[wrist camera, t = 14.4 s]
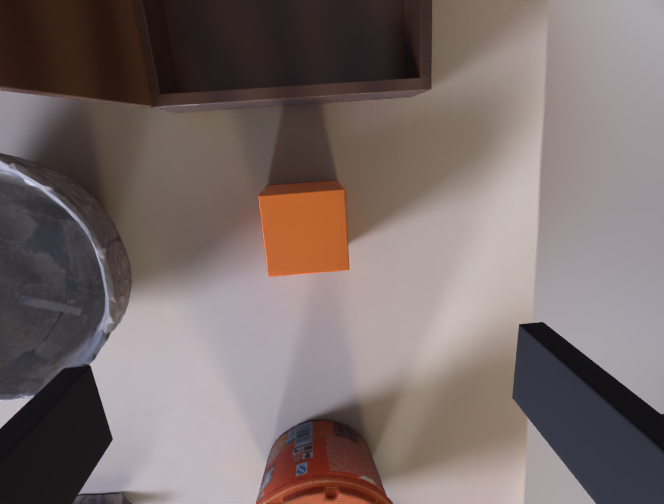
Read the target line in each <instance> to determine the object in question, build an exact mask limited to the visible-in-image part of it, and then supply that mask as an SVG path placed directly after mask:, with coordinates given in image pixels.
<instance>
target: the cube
mask: <svg viewBox="0 0 664 504" xmlns="http://www.w3.org/2000/svg"><path fill="white" fill-rule="evenodd" d="M258 199H259V207H260V215H261V223H262V231H263V239H264V247H265V255H266V263H267V271H268V277H275V276H286V275H298V274H309V273H320V272H332V271H343V270H349V254H348V236H347V219H346V201H345V189H344V188H343V187H342V186H341V184H340V183H339V182H338V181H337V180H332V181H319V182H306V183H292V184H279V185H267V186H266V187H265V188H264V189H263V191H262V192H261V193H260V194H259V196H258Z"/></svg>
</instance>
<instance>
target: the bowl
mask: <svg viewBox="0 0 664 504" xmlns="http://www.w3.org/2000/svg"><path fill="white" fill-rule="evenodd" d="M131 283H132V281H131V270H130V263H129V259H128V256H127V253H126V250H125V246H124V244H123V242H122V240H121V238H120V236H119V233H118V231H117V229H116V226H115V224H114V222H113V221H112V220H111V219H110V217H109V216H108V215H107V213H106V212H105V211H104V209H103V208H102V207H101V205H100V204H99V203H98V201H97V200H96V199H95V198H94V197H93V196H92V195H91V194H90V193H88V192H87V191H86V190H85V189H83V188H82V187H80V186H79V185H78V183H77V182H76V181H75V180H73V179H72V178H69V177H66V176H64V175H63V174H62V173H59V172H57V171H54V170H51V169H48V168H44V167H41V166H40V165H39V164H38V163H36V162H33V161H29V160H26V159H23V158H19V157H15V156H10V155H6V154H2V153H0V401H11V400H14V399H18V398H29V399H32V398H33V397H34V396H35V395H36V394H37V393H38V392H39V391H40V390H41V389H42V388H43V387H44V386H45V385H47V384H48V383H49V382H50V381H51V380H52V379H53V378H54V377H55V376H56V375H57V374H58V373H59V372H60V371H61V370H62V369H63V368H68V367H79V366H88V365H89V364H90V363H91V362H92V361H93V360H94V359H95V358H96V356H97V354H98V352H99V351H100V349H101V348H102V346H103V345H104V344H105V343H106V341H107V340H108V338H109V335H110V333H111V332H112V331H113V330H114V329H115V328H116V327H117V325H118V324H119V323H120V322H121V320H122V318H123V316H124V314H125V312H126V309H127V305H128V302H129V297H130V291H131Z"/></svg>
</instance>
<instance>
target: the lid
mask: <svg viewBox="0 0 664 504" xmlns="http://www.w3.org/2000/svg"><path fill="white" fill-rule="evenodd" d="M0 90H1V91H10V92H18V93H26V94H35V95H43V96H52V97H60V98H69V99H77V100H85V101H94V102H102V103H111V104H119V105H128V106H136V107H152V102H151V96H150V91H149V86H148V81H147V76H146V71H145V66H144V61H143V55H142V50H141V45H140V40H139V35H138V30H137V25H136V20H135V15H134V9H133V4H132V0H0Z"/></svg>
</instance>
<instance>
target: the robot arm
mask: <svg viewBox="0 0 664 504" xmlns="http://www.w3.org/2000/svg"><path fill="white" fill-rule="evenodd" d="M512 398H513V399H514V401H515V402H516V403H517V404H518V406H519V407H520V408H521V409H522V411H523V412H524V413H525V414H526V416H527V417H528V418H529V419H530V421H531V422H532V423H533V425H534V426H535V427H536V428H537V430H538V431H539V432H540V433H541V435H542V436H543V437H544V438H545V440H546V441H547V442H548V443H549V445H550V446H551V447H552V448H553V450H554V451H555V452H556V454H557V455H558V456H559V457H560V458H561V460H562V461H563V462H564V464H565V465H566V466H567V467H568V469H569V470H570V471H571V473H572V474H573V475H574V476H575V478H576V479H577V480H578V481H579V483H580V484H581V485H582V486H583V488H584V489H585V490H586V491H587V493H588V494H589V495H590V496H591V498H592V499H593V500H594V502H595V503H596V504H664V414H660V413H658V412H657V411H656V410H655V409H653V408H652V407H651V406H650V405H648V404H647V403H646V402H644V401H643V400H642V399H641V398H639V397H638V396H637V395H635V394H634V393H633V392H631V391H630V390H629V389H628V388H626V387H625V386H624V385H623V384H621V383H620V382H619V381H618V380H616V379H615V378H614V377H612V376H611V375H610V374H609V373H607V372H606V371H605V370H603V369H602V368H601V367H600V366H598V365H597V364H596V363H594V362H593V361H592V360H590V359H589V358H588V357H587V356H586V355H584V354H583V353H582V352H580V351H579V350H578V349H577V348H575V347H574V346H573V345H571V344H570V343H569V342H568V341H566V340H565V339H564V338H563V337H561V336H560V335H558V334H557V333H556V332H555V331H553V330H552V329H551V328H550V327H548V326H547V325H546V324H545V323H543V322H540V323H529V324H519V332H518V343H517V353H516V364H515V375H514V385H513V396H512ZM112 440H113V439H112V435H111V432H110V429H109V425H108V422H107V419H106V416H105V412H104V409H103V406H102V402H101V399H100V396H99V393H98V389H97V386H96V383H95V379H94V376H93V373H92V369H91V366H90V365H89V366H79V367H68V368H63V369H62V370H61V371H60V372H59V373H58V374H57V375H56V376H55V377H54V378H53V379H52V380H51V381H50V382H49V383H48V384H47V385H45V386H44V387H43V388H42V389H41V390H40V391H39V392H38V393H37V394H36V395H35V396H34V397H33V398H32V399H31V400H30V401H29V402H28V403H27V404H26V405H25V406H24V407H22V408H21V409H20V410H19V411H18V412H17V413H16V414H15V415H14V416H13V417H12V418H11V419H10V420H9V421H8V422H7V423H6V424H5V425H4V426H3V427H2V428H1V429H0V504H72V503H73V501H74V500H75V498H76V497H77V495H78V493H79V492H80V490H81V489H82V487H83V486H84V484H85V482H86V481H87V479H88V478H89V476H90V475H91V473H92V471H93V470H94V468H95V467H96V465H97V464H98V462H99V460H100V459H101V457H102V456H103V454H104V453H105V451H106V449H107V448H108V446H109V445H110V443H111V442H112Z"/></svg>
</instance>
